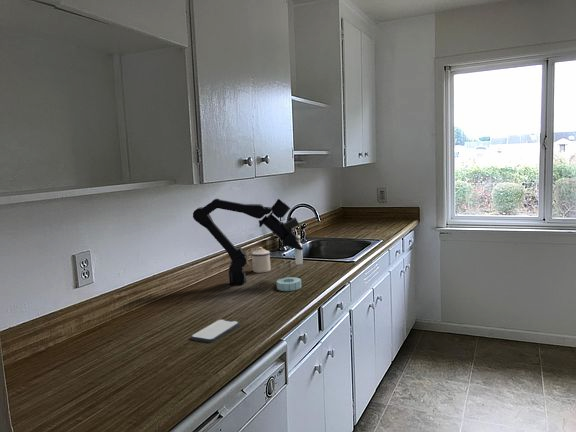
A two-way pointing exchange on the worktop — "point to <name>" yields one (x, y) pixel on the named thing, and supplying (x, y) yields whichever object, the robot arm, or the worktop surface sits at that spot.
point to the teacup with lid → (260, 260)
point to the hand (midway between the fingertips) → (301, 248)
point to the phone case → (215, 331)
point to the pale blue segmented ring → (288, 284)
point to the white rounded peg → (298, 252)
